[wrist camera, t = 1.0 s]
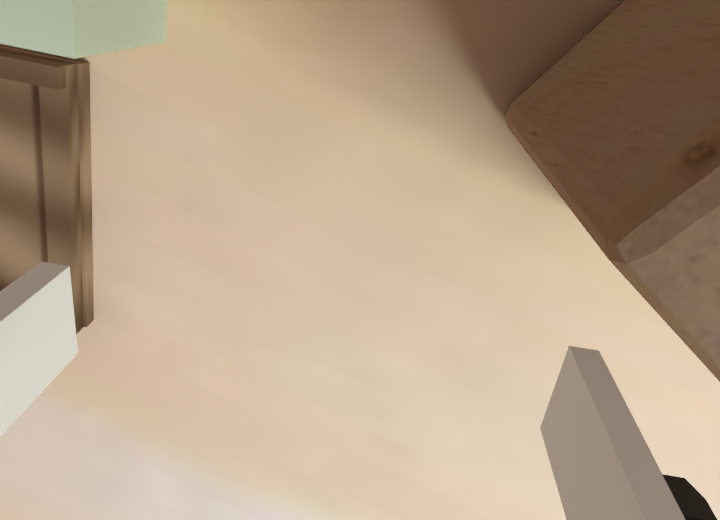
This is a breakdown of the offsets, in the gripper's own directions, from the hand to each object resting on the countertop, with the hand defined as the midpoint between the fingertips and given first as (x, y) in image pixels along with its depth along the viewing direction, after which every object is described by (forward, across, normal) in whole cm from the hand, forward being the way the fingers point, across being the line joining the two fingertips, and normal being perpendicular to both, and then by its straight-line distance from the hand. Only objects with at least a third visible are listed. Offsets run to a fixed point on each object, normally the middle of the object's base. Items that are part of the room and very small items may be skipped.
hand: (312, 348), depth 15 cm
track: (+21, -22, -6) cm, 31 cm away
